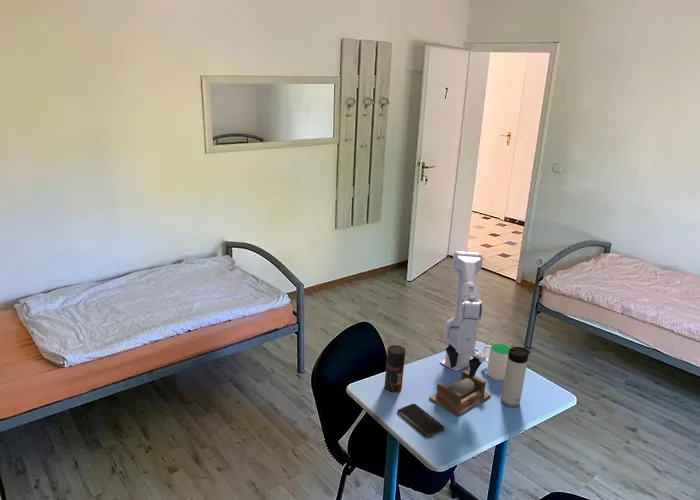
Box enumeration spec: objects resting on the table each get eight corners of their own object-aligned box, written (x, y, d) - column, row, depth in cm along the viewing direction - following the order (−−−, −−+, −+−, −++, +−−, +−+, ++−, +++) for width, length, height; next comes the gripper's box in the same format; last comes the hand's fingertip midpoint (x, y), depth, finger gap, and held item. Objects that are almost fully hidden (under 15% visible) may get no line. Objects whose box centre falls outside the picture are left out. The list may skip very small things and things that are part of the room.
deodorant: (395, 394, 187) (399, 355, 182) (381, 388, 190) (384, 349, 185) (404, 387, 191) (408, 349, 186) (390, 381, 195) (393, 343, 190)
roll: (461, 387, 191) (464, 375, 189) (473, 395, 188) (476, 383, 186) (445, 396, 186) (447, 384, 184) (456, 404, 182) (459, 392, 180)
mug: (474, 366, 207) (477, 342, 203) (488, 361, 211) (492, 336, 208) (499, 382, 198) (503, 356, 194) (513, 376, 202) (518, 350, 199)
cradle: (462, 381, 197) (464, 366, 195) (490, 396, 189) (492, 381, 187) (429, 399, 186) (430, 383, 184) (457, 416, 177) (459, 400, 175)
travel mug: (521, 409, 183) (531, 355, 176) (501, 405, 184) (509, 352, 178) (519, 398, 189) (529, 346, 182) (500, 395, 190) (508, 343, 183)
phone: (427, 436, 166) (396, 410, 177) (426, 439, 166) (395, 413, 178) (446, 428, 170) (414, 402, 182) (446, 431, 170) (414, 405, 182)
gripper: (442, 330, 182) (437, 366, 187) (478, 348, 172) (472, 385, 177) (455, 324, 187) (450, 359, 191) (491, 341, 177) (485, 378, 181)
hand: (462, 371), depth 184 cm, fingers open, 7 cm apart
